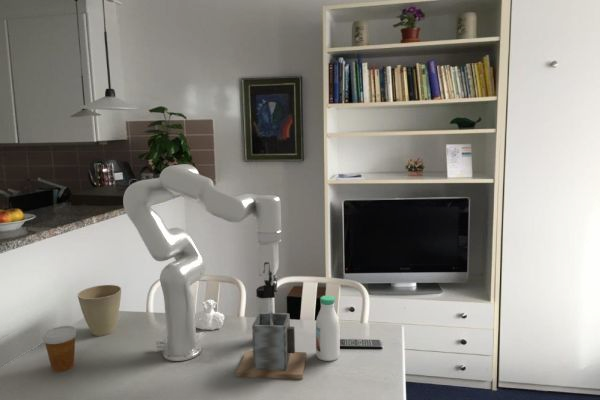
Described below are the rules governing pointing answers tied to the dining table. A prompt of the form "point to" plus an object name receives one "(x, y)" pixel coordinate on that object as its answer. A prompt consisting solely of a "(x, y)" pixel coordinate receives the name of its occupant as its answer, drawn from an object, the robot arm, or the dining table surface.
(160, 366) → the dining table surface
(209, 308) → the bust
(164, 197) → the robot arm
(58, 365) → the disposable coffee cup
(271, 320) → the knob on square base
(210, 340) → the dining table surface
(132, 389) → the dining table surface
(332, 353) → the milk bottle
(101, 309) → the plant pot
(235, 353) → the dining table surface
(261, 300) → the travel mug
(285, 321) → the stand
